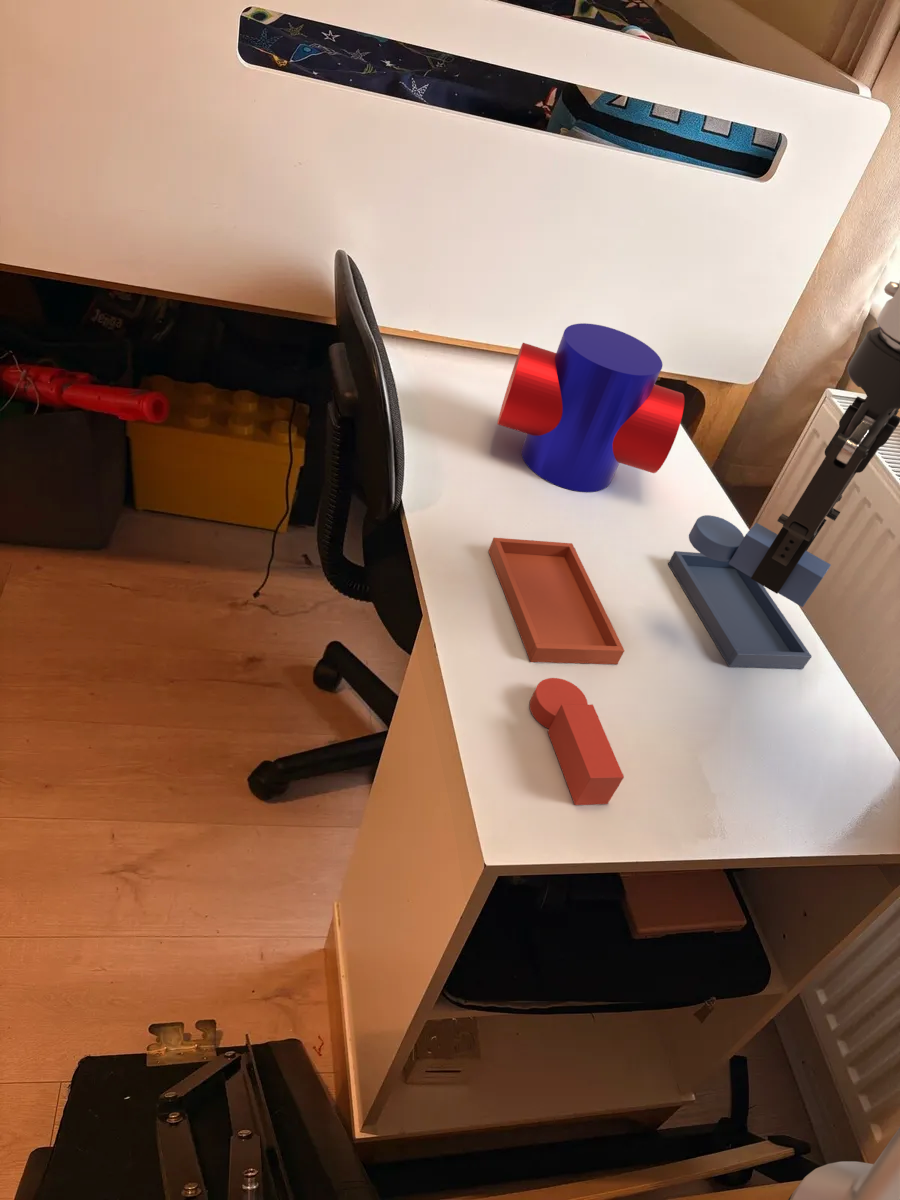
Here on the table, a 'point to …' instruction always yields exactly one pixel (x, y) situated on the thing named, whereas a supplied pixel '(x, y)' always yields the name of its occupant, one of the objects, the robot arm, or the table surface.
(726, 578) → the blue tray
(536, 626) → the red tray
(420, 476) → the table surface
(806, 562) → the blue spoon
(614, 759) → the red spoon
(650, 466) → the blue red crossed cylinders
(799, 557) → the robot arm
